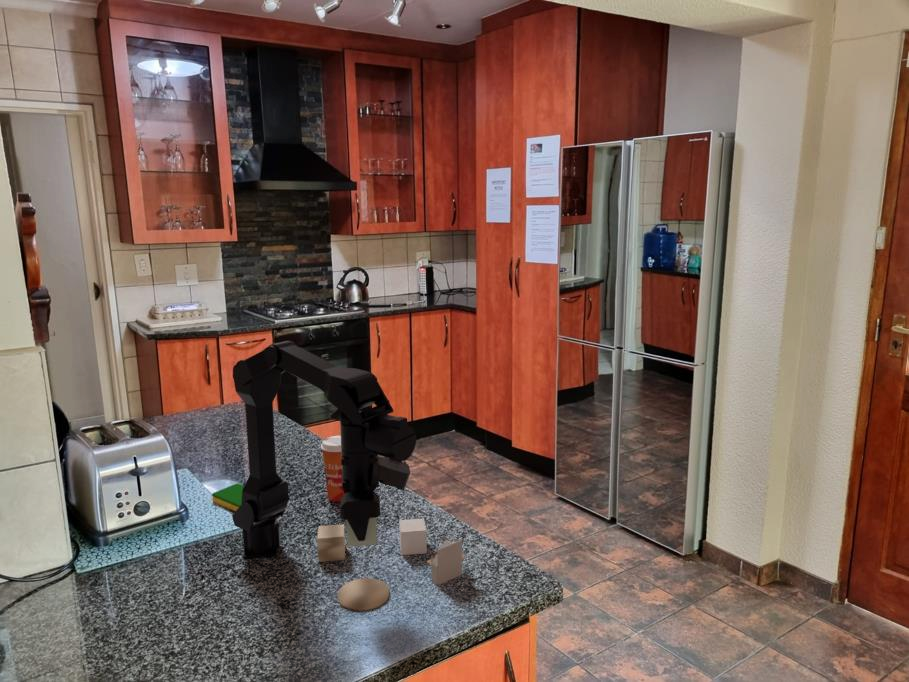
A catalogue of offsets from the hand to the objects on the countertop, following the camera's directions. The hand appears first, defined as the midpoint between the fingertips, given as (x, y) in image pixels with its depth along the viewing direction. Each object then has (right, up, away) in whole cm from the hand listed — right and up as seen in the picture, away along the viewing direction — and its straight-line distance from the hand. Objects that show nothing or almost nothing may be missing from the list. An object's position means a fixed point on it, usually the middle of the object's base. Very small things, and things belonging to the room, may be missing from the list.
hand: (361, 532), depth 113 cm
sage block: (0, -1, 0) cm, 1 cm away
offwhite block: (+8, -8, +18) cm, 22 cm away
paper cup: (-11, -4, +41) cm, 43 cm away
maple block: (-8, -9, +16) cm, 20 cm away
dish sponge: (-33, -5, +38) cm, 51 cm away
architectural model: (+15, -11, +8) cm, 20 cm away
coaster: (0, -12, +2) cm, 12 cm away
